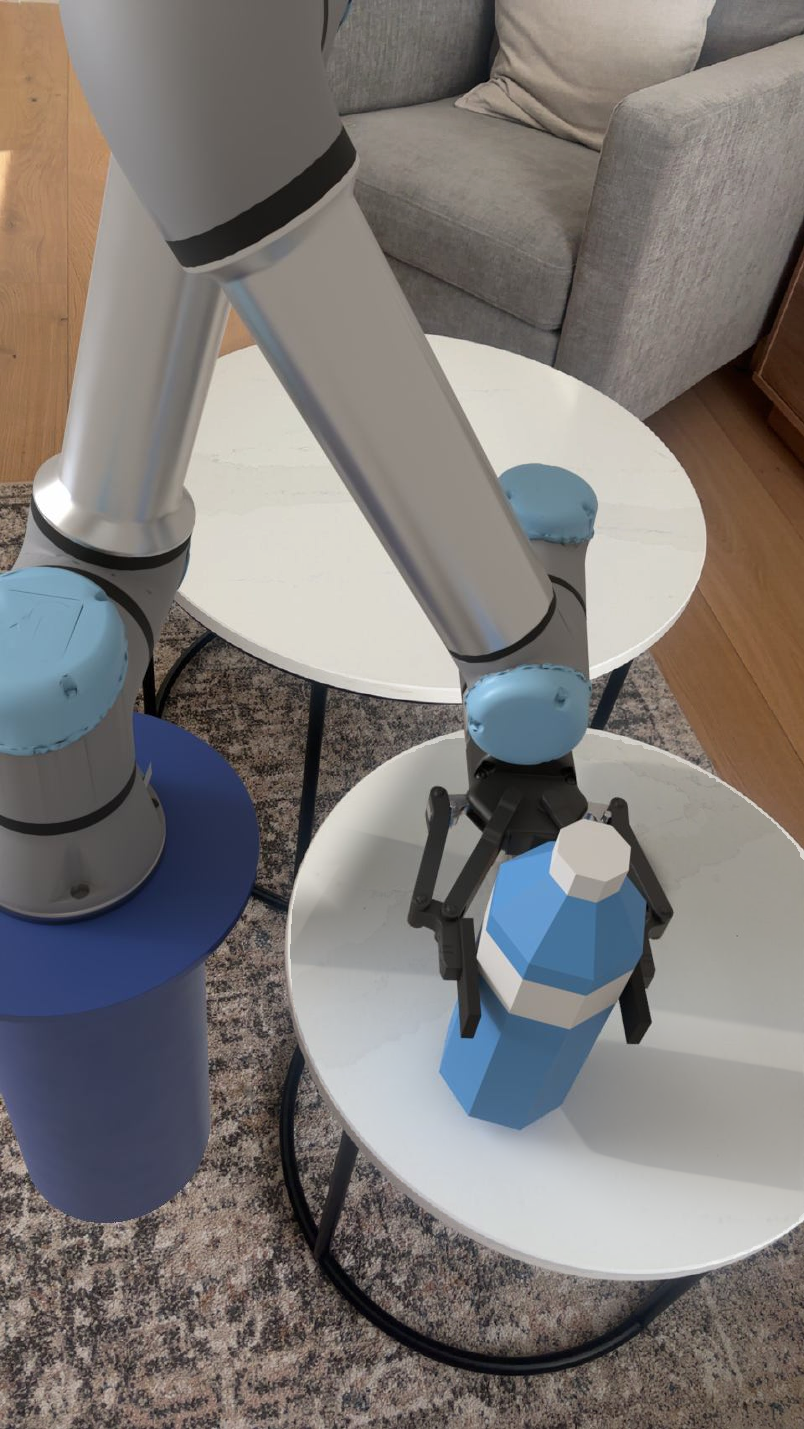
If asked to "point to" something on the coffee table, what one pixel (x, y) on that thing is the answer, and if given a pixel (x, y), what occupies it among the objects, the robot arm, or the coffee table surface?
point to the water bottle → (546, 974)
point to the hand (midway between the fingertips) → (555, 1030)
